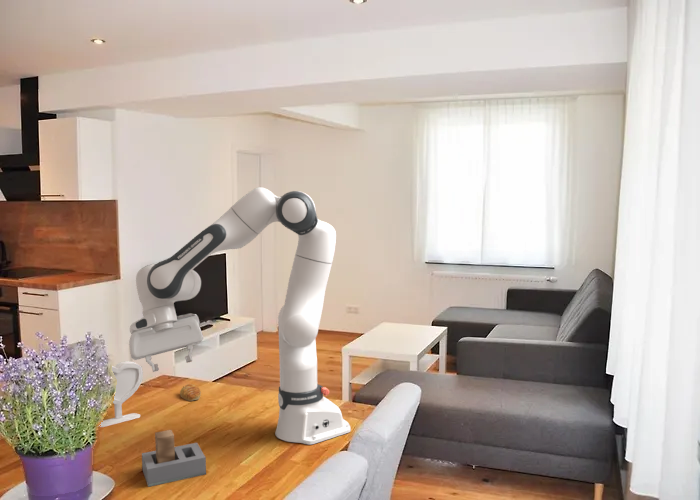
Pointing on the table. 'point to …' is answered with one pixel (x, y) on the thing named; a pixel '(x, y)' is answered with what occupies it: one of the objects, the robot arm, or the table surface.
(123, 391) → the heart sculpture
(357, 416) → the table surface
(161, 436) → the walnut peg
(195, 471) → the caddy
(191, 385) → the pastry
